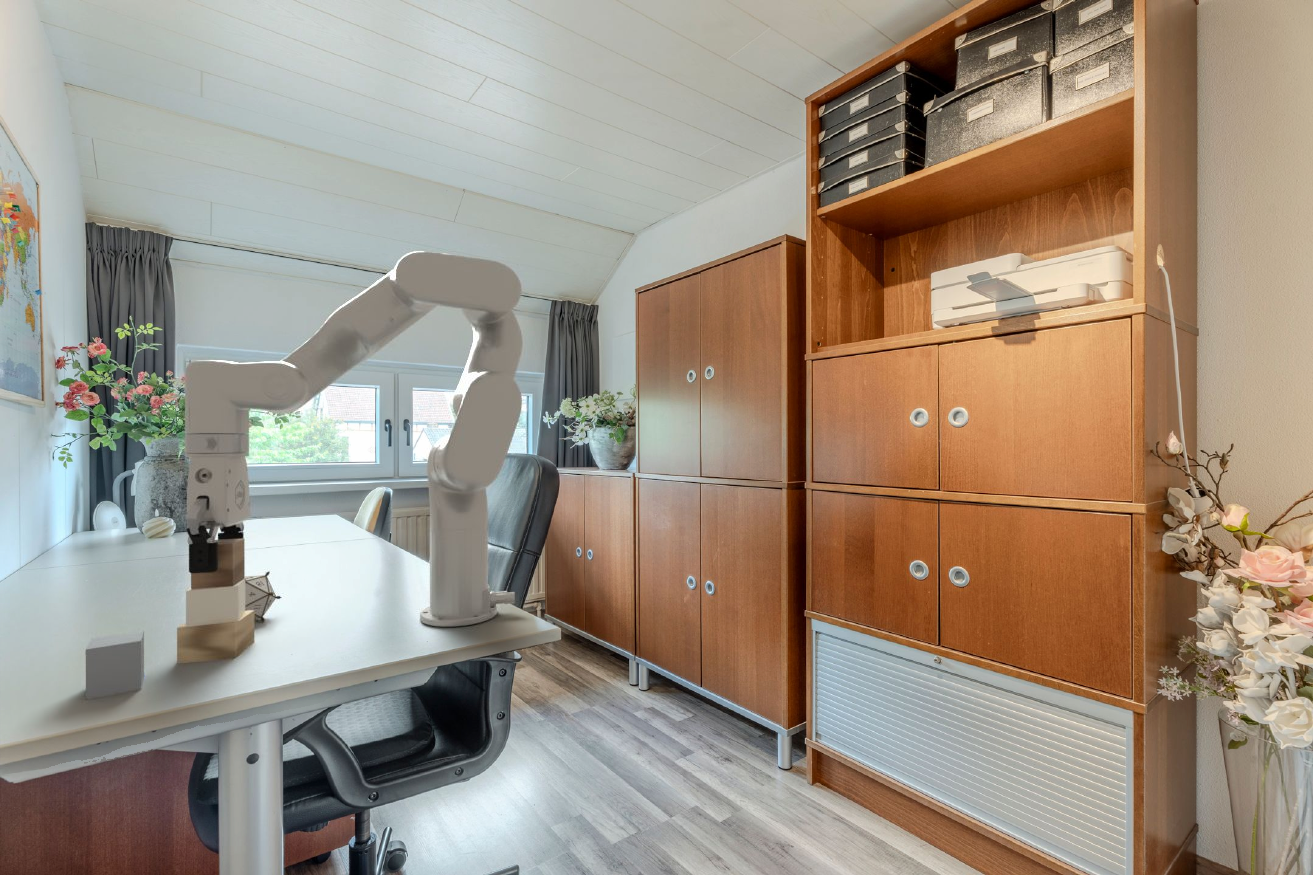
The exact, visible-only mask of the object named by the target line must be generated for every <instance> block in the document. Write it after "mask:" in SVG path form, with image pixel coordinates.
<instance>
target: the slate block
mask: <svg viewBox="0 0 1313 875" xmlns="http://www.w3.org/2000/svg"><path fill="white" fill-rule="evenodd" d="M88 642H89V643H88V645H87V646H86V648H85V701H86V700H92V699H96V698H97V699H98V698H103V697H108V696H112V695H119V694H123V693H128V692H129V693H130V692H134V691H139V690H142V688H143V683H144V679H145V630H138V631H132V632H126V633H120V634H119V633H118V634H114V635H113V634H112V635H105V636H98V637H92V638H91V639H90V641H88Z"/></svg>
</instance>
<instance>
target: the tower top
mask: <svg viewBox="0 0 1313 875" xmlns="http://www.w3.org/2000/svg"><path fill="white" fill-rule="evenodd" d="M244 612H245V579H243V580H242V581H240V582H238V583H237V584H235V585H234V586H228V587H213V588H198V589H191V586H190V587H189V588H188V589H186V590H185V623H186V627H191V626H200V625H209V624H218V623H227V622H236V621H239V619H240V618H241V616H242V615H243V613H244Z"/></svg>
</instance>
